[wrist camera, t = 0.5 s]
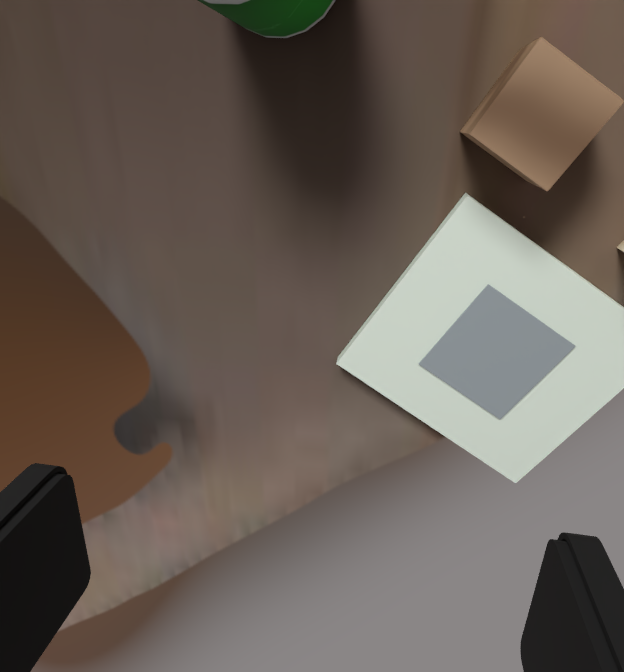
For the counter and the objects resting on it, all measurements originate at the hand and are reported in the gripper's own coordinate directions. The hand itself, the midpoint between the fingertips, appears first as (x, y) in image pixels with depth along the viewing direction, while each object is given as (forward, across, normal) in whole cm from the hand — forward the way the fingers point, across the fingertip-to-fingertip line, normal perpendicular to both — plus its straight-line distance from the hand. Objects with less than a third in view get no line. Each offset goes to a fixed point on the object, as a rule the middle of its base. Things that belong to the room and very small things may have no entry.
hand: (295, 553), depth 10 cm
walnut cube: (+26, -8, -8) cm, 29 cm away
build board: (+26, -9, +6) cm, 28 cm away
